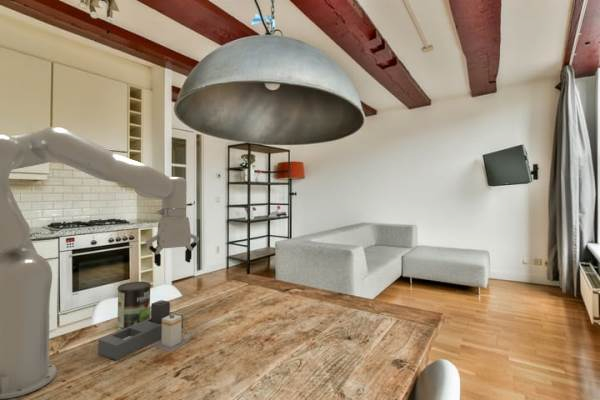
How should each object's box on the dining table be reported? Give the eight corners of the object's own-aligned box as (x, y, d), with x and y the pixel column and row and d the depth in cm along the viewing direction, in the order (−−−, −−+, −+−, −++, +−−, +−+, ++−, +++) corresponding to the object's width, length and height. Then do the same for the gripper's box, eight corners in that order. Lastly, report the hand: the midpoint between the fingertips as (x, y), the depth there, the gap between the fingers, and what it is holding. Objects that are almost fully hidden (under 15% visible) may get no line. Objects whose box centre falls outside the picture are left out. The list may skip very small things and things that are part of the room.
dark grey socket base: (116, 361, 84) (116, 345, 84) (98, 354, 87) (98, 339, 87) (182, 327, 106) (182, 315, 106) (166, 323, 109) (166, 311, 109)
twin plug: (159, 329, 99) (160, 303, 99) (151, 327, 101) (151, 301, 101) (169, 325, 103) (169, 300, 103) (160, 322, 104) (161, 298, 104)
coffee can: (156, 320, 111) (157, 282, 111) (135, 332, 101) (136, 291, 101) (132, 317, 113) (132, 280, 113) (109, 329, 103) (110, 288, 103)
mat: (170, 353, 89) (170, 351, 89) (151, 346, 92) (151, 345, 92) (190, 341, 96) (190, 340, 96) (172, 336, 100) (172, 334, 99)
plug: (170, 347, 91) (171, 319, 91) (161, 344, 93) (161, 316, 93) (181, 341, 95) (181, 314, 95) (171, 338, 97) (172, 312, 97)
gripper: (149, 214, 94) (148, 269, 94) (203, 213, 105) (202, 262, 105) (143, 213, 99) (142, 264, 100) (195, 212, 111) (194, 258, 111)
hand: (173, 263), depth 102 cm, fingers open, 9 cm apart
